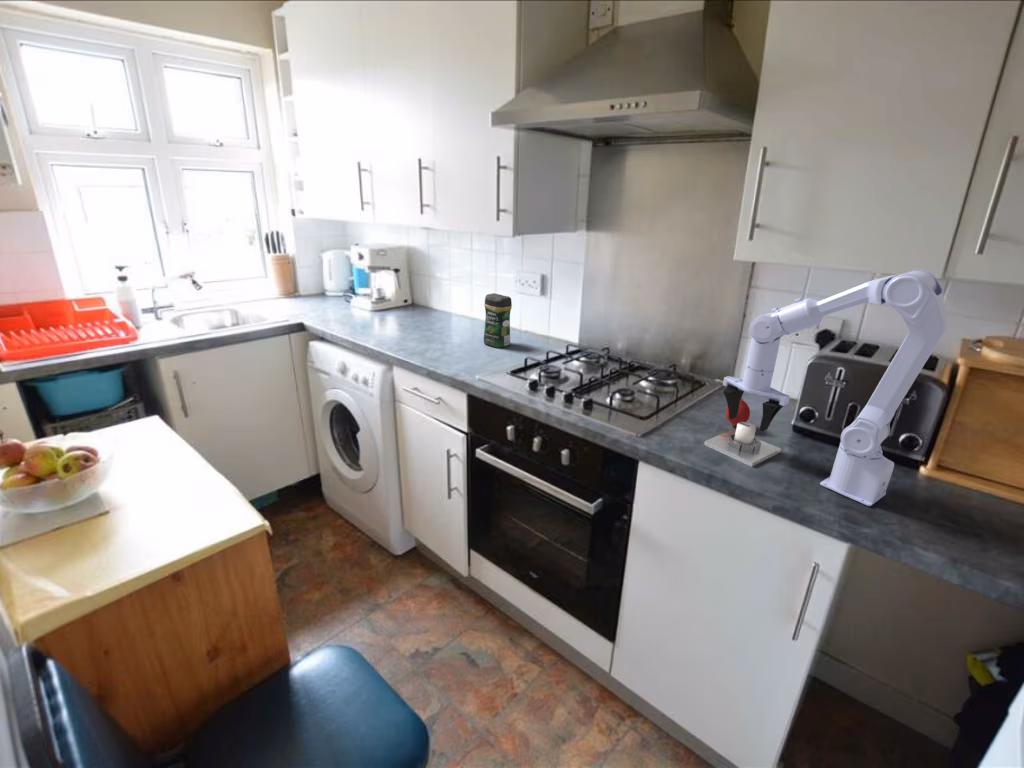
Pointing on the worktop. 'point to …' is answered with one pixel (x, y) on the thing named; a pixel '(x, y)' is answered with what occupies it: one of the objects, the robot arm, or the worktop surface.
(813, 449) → the worktop surface
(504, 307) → the coffee jar
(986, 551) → the worktop surface
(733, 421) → the onion
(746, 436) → the knob
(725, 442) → the hub plate
